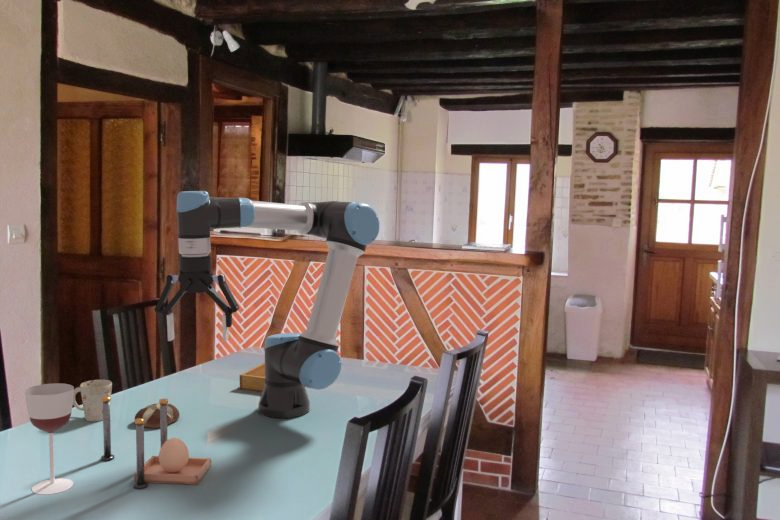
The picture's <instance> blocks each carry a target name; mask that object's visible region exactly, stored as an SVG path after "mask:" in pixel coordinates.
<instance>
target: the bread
mask: <svg viewBox="0 0 780 520" xmlns="http://www.w3.org/2000/svg"><path fill="white" fill-rule="evenodd" d="M137 418H144V419H145V423H144V428H149V429H160V404H159V402H157V403H153V404H152V403H151V404H150V405H149V404H148V405H147V406H145V407H144V408H141V409H139V410H138V411H137V412H136V414H135V415H134V420H135V419H137ZM179 418H180V411H179V409H178V408H177V407H176V406H175V405H173V404H172V403H167V426H168V425H170V424H172V423H175V422H177V421H178V420H179Z"/></svg>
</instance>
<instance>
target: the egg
mask: <svg viewBox="0 0 780 520" xmlns="http://www.w3.org/2000/svg"><path fill="white" fill-rule="evenodd" d="M189 455H190V453H189V449H188V446H187V445H186V443H185V442H184V441H183V440H181V439H180V438H177V437H172V438H169V439H167V441H166V442H165V443H164V444H163V446H162V447H161V446H160V450H159V452H158V456H159V462H160V465H161V467H162V468H163V469H164V470H166V471H168V472H172V473H174V472H178V471H180V470H181V469H183V468H184V467H185V465H186V464H187V462H188V459H189V458H190V457H189Z"/></svg>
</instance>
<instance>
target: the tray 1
mask: <svg viewBox="0 0 780 520" xmlns="http://www.w3.org/2000/svg"><path fill="white" fill-rule="evenodd" d="M211 467H212V458H210V457H209V458H207V457H189V459H188V462H187V464H186V465H185V467H184V468H183V469H181V470H180V471H178V472H174V473H172V472H168V471H166V470H164V469H163V468H162V467H161V465H160V462H159V455H152V456H151V457H150V458H149V459H147V461H146V462H144V476H145V481H146V482H148V484H149V483H150V484H168V485H169V484H171V485H188V486H189V485H190V486H191V485H193V486H197V485H198V484H199V483H200V482H201V481H202V480H203V478H204V477H205V476H206V474H207V473H208V471H210V469H211ZM136 482H137V471H136V472H135V473H134V483H136Z"/></svg>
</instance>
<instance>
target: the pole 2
mask: <svg viewBox="0 0 780 520" xmlns="http://www.w3.org/2000/svg"><path fill="white" fill-rule="evenodd" d="M144 423H145V419H144V418H137V419H135V418H134V424H135V434H136V435H135V440H136V441H135V442H136V444H135V446H136V450H135V451H136V472H137V482H134V483H133V488H134V489H135V490H143V489H146V488H148V486H149V483H148V482H146V481H145V476H144V464H145V426H144Z"/></svg>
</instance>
